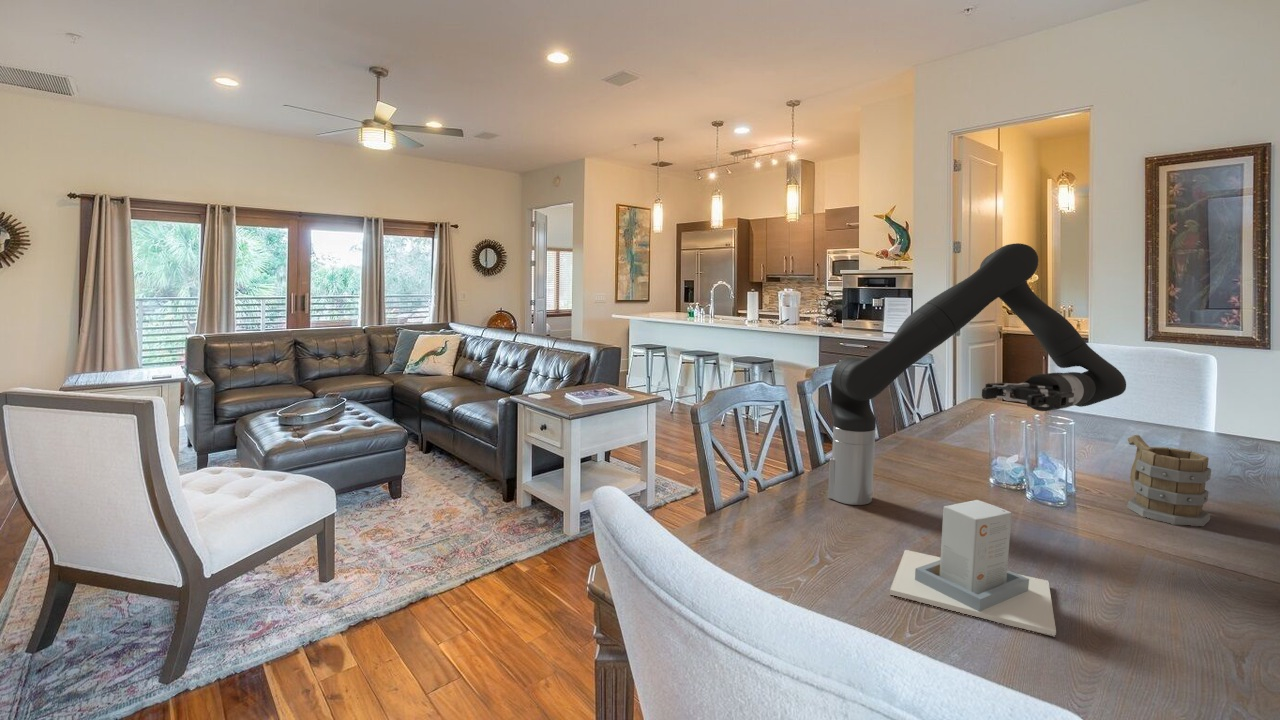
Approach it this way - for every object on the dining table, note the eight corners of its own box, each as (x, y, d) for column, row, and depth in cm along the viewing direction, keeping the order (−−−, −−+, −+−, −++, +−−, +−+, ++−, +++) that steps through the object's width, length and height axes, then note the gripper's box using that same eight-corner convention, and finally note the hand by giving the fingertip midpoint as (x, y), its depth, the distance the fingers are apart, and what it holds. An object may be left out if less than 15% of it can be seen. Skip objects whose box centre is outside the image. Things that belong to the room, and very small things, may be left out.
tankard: (1223, 528, 121) (1232, 458, 119) (1154, 524, 123) (1162, 455, 122) (1156, 494, 141) (1164, 434, 139) (1098, 491, 143) (1104, 431, 141)
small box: (971, 571, 101) (977, 498, 99) (1007, 589, 95) (1013, 511, 93) (937, 580, 98) (942, 505, 96) (971, 598, 92) (977, 519, 90)
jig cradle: (889, 595, 95) (890, 577, 94) (904, 554, 109) (905, 539, 109) (1055, 638, 83) (1057, 618, 83) (1047, 586, 98) (1049, 569, 97)
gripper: (1018, 368, 126) (972, 373, 118) (1094, 378, 113) (1047, 383, 106) (1015, 402, 127) (968, 409, 119) (1090, 416, 114) (1043, 424, 107)
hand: (1006, 397), depth 113 cm, fingers open, 8 cm apart
